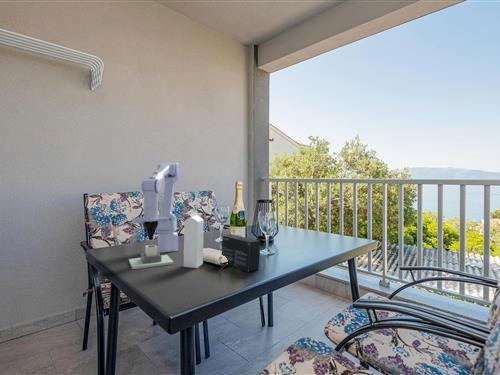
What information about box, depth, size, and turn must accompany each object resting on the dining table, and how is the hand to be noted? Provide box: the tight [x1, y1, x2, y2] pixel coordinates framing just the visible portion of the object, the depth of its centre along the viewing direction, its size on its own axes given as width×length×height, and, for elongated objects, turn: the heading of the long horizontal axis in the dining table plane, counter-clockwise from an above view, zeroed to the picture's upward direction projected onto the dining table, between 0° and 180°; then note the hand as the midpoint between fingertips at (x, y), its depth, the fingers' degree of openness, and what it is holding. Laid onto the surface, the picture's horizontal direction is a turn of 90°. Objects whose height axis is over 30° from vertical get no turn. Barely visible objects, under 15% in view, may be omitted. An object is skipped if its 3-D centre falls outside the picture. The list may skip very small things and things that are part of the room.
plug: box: [144, 244, 158, 257], centre depth 118 cm, size 4×4×7 cm
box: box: [221, 234, 261, 273], centre depth 116 cm, size 17×7×12 cm, turn 45°
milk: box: [183, 211, 205, 269], centre depth 115 cm, size 6×6×22 cm
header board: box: [128, 251, 174, 270], centre depth 118 cm, size 16×12×4 cm
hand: (150, 239), depth 118 cm, fingers closed
